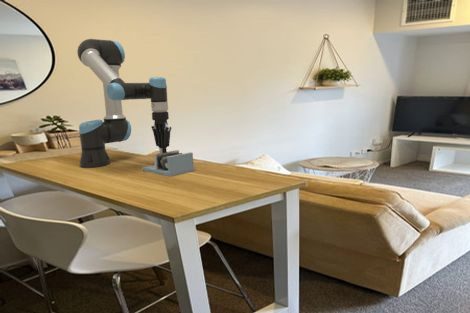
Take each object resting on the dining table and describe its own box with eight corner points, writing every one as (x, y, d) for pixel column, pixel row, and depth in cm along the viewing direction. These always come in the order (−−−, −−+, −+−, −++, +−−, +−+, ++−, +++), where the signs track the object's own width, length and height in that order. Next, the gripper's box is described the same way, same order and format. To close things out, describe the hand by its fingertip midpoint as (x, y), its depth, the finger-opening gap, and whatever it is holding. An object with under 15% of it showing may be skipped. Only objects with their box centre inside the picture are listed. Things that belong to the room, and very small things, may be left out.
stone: (175, 179, 152) (163, 161, 149) (167, 179, 158) (155, 162, 154) (195, 161, 160) (184, 144, 156) (187, 162, 165) (176, 145, 162)
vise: (142, 170, 163) (140, 152, 162) (166, 165, 173) (165, 148, 171) (169, 176, 148) (168, 157, 147) (194, 170, 158) (193, 152, 157)
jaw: (155, 169, 156) (153, 154, 155) (177, 164, 166) (176, 150, 164) (157, 169, 155) (156, 154, 154) (180, 164, 164) (179, 150, 163)
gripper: (145, 111, 159) (149, 161, 164) (161, 112, 151) (165, 164, 155) (158, 110, 165) (162, 158, 169) (174, 111, 156) (178, 161, 160)
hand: (163, 161), depth 162 cm, fingers closed
